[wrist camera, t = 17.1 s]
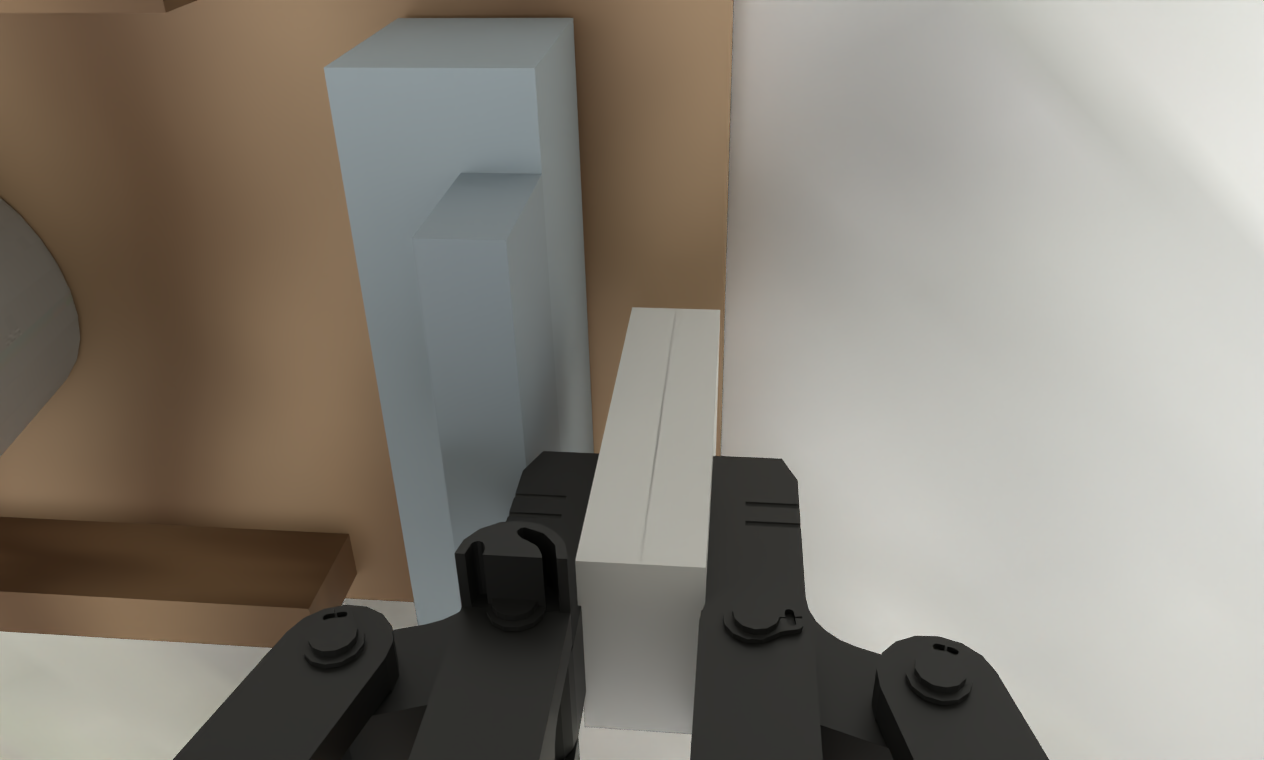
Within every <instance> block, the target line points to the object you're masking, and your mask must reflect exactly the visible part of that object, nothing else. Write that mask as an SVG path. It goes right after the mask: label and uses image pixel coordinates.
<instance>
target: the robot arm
mask: <svg viewBox="0 0 1264 760" xmlns="http://www.w3.org/2000/svg"><path fill="white" fill-rule="evenodd" d="M719 334H720V310H710V309H676V308H641V307H632V311H631V315H630V320H629V324H628V328H627V333H626V337H625V342H624V346H623V351H622V355H621V360H620V364H619V368H618V373H617V377H616V382H615V386H614V391H613V395H612V400H611V404H610V408H609V413H608V417H607V422H606V426H605V431H604V435H603V440H602V444H601V448H600V453H579V452H555V451H543V452H542V453H541V454H540V455H539V456H538V457H536V458H535V459H534V460H533V461H532V462H531V463H530V464H529V465H528V466H527V467H526V468H525V469H524V470H523V472H522V475H521V478H520V481H519V484H518V487H517V490H516V493H515V498H514V499H513V502H512V505H511V508H510V511H509V517H507V520H506V522H499V523H496V524H493V525H490V526H487V527H484V528H481V529H479V530H477V531H476V532H474V533H473V534H471V535H470V536H468V537H467V538H465V539H464V540H463V541H462V543H461V544H460V546H459V547H458V549H457V550H456V552H455V553H454V554H455V562H456V569H457V577H458V584H459V592H460V599H461V610H460V612H458V613H456V614H454V615H452V616H450V617H448V618H445V619H443V620H440V621H436V622H432V623H429V624H425V625H419V626H414V627H408V628H403V629H398V630H392V626H391V624H390V623H389V622H388V621H387V619H386V618H385V617H384V615H383V614H381V613H379V612H377V611H375V610H372V609H370V608H368V607H364V606H353V605H343V606H337V607H331V608H326V609H323V610H320V611H318V612H316V613H314V614H311V615H309V616H307V617H305V618H303V619H302V620H300V621H299V622H298V623H297V624H296V625H294V626H293V627H292V628H291V629H289V630H288V631H287V632H286V633H285V634H284V635H283V637H282V638H281V639H280V640H279V641H278V642H277V643H276V644H275V645H274V647H273V648H272V649H271V650H270V651H269V652H268V653H267V654H266V656H265V657H264V658H263V659H262V660H261V661H260V662H259V663H258V665H257V666H256V667H255V668H254V669H253V670H252V671H251V672H250V674H249V675H248V676H247V677H246V678H245V679H244V680H243V681H242V682H241V684H240V685H239V686H238V687H237V688H236V689H235V690H234V691H233V693H232V694H231V695H230V696H229V697H228V698H227V699H226V700H225V702H224V703H223V704H222V705H221V706H220V707H219V708H218V709H217V711H216V712H215V713H214V714H213V715H212V716H211V717H210V718H209V720H208V721H207V722H206V723H205V724H204V725H203V726H202V727H201V728H200V730H199V731H198V732H197V733H196V734H195V735H194V736H193V737H192V739H191V740H190V741H189V742H188V743H187V744H186V745H185V746H184V748H183V749H182V750H181V751H180V752H179V753H178V754H177V755H176V757H175V758H174V759H173V760H580V757H579V741H578V734H579V728H580V723H581V717H582V712H583V706H584V723H585V727H594V728H609V729H624V730H638V731H653V732H668V733H682V734H692V740H691V755H690V760H1049V759H1048V757H1047V756H1046V754H1045V752H1044V751H1043V749H1042V747H1041V746H1040V744H1039V742H1038V741H1037V739H1036V737H1035V736H1034V734H1033V732H1032V731H1031V729H1030V727H1029V726H1028V724H1027V722H1026V721H1025V719H1024V717H1023V716H1022V714H1021V712H1020V711H1019V709H1018V707H1017V706H1016V704H1015V702H1014V701H1013V699H1012V697H1011V696H1010V694H1009V692H1008V691H1007V689H1006V687H1005V686H1004V684H1003V682H1002V681H1001V679H1000V677H999V675H998V674H997V672H996V671H995V670H994V669H993V668H992V666H991V665H990V664H989V663H988V662H987V661H986V660H985V659H984V657H983V656H982V655H980V654H978V653H977V652H975V651H973V650H972V649H970V648H969V647H967V646H965V645H964V644H962V643H959V642H955V641H952V640H949V639H945V638H942V637H938V636H914V637H910V638H907V639H903V640H900V641H896V642H895V643H894V644H892V645H891V646H890V647H889V648H888V649H886V650H885V651H884V652H883V653H882V655H881V654H877V653H874V652H871V651H868V650H865V649H861V648H858V647H855V646H853V645H851V644H848V643H846V642H843V641H841V640H839V639H838V638H836V637H834V636H833V635H831V634H830V633H828V632H827V631H825V630H824V629H823V628H822V627H821V626H820V625H819V624H818V623H817V622H816V621H815V619H814V617H813V616H812V614H811V613H810V611H809V609H808V605H807V601H806V597H805V582H804V568H803V553H802V539H801V528H800V510H799V495H798V481H797V479H796V478H795V476H794V475H793V474H792V472H791V471H790V470H789V468H788V467H787V465H786V464H785V463H784V461H783V460H782V459H774V458H751V457H727V456H716V433H717V400H718V367H719Z"/></svg>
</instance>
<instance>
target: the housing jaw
mask: <svg viewBox="0 0 1264 760" xmlns="http://www.w3.org/2000/svg"><path fill="white" fill-rule="evenodd" d="M324 73H325V79H326V85H327V90H328V96H329V102H330V108H331V114H332V120H333V126H334V132H335V138H336V143H337V149H338V155H339V161H340V167H341V173H342V179H343V185H344V191H345V197H346V202H347V208H348V214H349V220H350V226H351V232H352V238H353V244H354V250H355V255H356V261H357V267H358V273H359V279H360V285H361V291H362V297H363V303H364V309H365V314H366V320H367V326H368V332H369V338H370V344H371V350H372V356H373V362H374V368H375V373H376V379H377V385H378V391H379V397H380V403H381V409H382V415H383V421H384V426H385V432H386V438H387V444H388V450H389V456H390V462H391V468H392V474H393V480H394V485H395V491H396V497H397V503H398V509H399V515H400V521H401V527H402V533H403V539H404V544H405V550H406V556H407V562H408V568H409V574H410V580H411V586H412V592H413V597H414V603H415V609H416V615H417V621H418V626H419V625H425V624H429V623H432V622H436V621H440V620H443V619H445V618H448V617H450V616H452V615H454V614H456V613H458V612H460V610H461V599H460V592H459V584H458V577H457V569H456V562H455V554H454V553H455V552H456V550H457V549H458V547H459V546H460V544H461V543H462V541H463V540H464V539H465V538H467V537H468V536H470V535H471V534H473V533H474V532H476V531H477V530H479V529H481V528H484V527H487V526H490V525H493V524H496V523H499V522H506V520H507V517H509V511H510V508H511V505H512V502H513V499H514V498H515V493H516V490H517V487H518V484H519V481H520V478H521V475H522V472H523V470H524V469H525V468H526V467H527V466H528V465H529V464H530V463H531V462H532V461H533V460H534V459H535V458H536V457H538V456H539V455H540V454H541V453H542V452H543V451H555V452H579V453H594V445H593V424H592V403H591V382H590V361H589V340H588V319H587V298H586V277H585V256H584V235H583V214H582V193H581V172H580V151H579V130H578V109H577V88H576V67H575V45H574V24H573V18H398V19H396V20H394V21H393V22H391V23H390V24H388V25H387V26H385V27H384V28H382V29H381V30H379V31H378V32H376V33H375V34H373V35H372V36H370V37H369V38H367V39H366V40H364V41H363V42H361V43H360V44H358V45H357V46H355V47H354V48H352V49H351V50H349V51H348V52H346V53H345V54H343V55H342V56H340V57H339V58H337V59H336V60H334V61H333V62H331V63H330V64H328V65H327V66H325V67H324Z"/></svg>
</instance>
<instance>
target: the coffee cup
mask: <svg viewBox="0 0 1264 760" xmlns="http://www.w3.org/2000/svg"><path fill="white" fill-rule="evenodd" d="M79 343H80V331H79V321H78V314H77V311H76V308H75V304H74V301H73V298H72V295H71V291H70V289H69V287H68V285H67V283H66V281H65V278H64V276H63V274H62V272H61V270H60V268H59V266H58V264H57V262H56V261H55V259H54V258H53V256H52V255H51V253H50V252H49V250H48V249H47V247H46V246H45V244H44V243H43V241H42V240H41V238H40V237H39V236H38V235H37V234H36V233H35V232H34V230H33V229H32V228H31V227H30V226H29V225H28V223H27V222H26V221H25V220H24V219H23V218H22V217H21V215H20V214H19V213H17V212H16V211H15V210H14V209H13V208H12V207H11V206H9V205H8V204H7V203H6V202H5V201H4V200H3V199H2V198H0V457H1V455H2V454H3V453H4V452H5V451H6V450H7V448H8V447H9V446H10V445H11V444H12V443H13V441H14V440H15V439H16V438H17V437H18V436H19V434H20V433H21V432H22V431H23V430H24V429H25V427H26V426H27V425H28V424H29V423H30V422H31V420H32V419H33V418H34V417H35V416H36V415H37V413H38V412H39V411H40V410H41V409H42V408H43V406H44V405H45V404H46V403H47V402H48V401H49V399H50V398H51V397H52V396H53V395H54V394H55V392H56V391H57V390H58V389H59V388H60V387H61V385H62V384H63V383H64V382H65V381H66V379H67V378H68V376H69V374H70V372H71V370H72V368H73V366H74V364H75V362H76V361H77V356H78V350H79Z"/></svg>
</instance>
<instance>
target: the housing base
mask: <svg viewBox="0 0 1264 760" xmlns="http://www.w3.org/2000/svg"><path fill="white" fill-rule="evenodd" d="M398 18H573V24H574V45H575V67H576V88H577V109H578V130H579V151H580V172H581V193H582V214H583V235H584V256H585V277H586V298H587V319H588V340H589V361H590V382H591V403H592V424H593V445H594V453H600V448H601V444H602V440H603V435H604V431H605V426H606V422H607V417H608V413H609V408H610V404H611V400H612V395H613V391H614V386H615V382H616V377H617V373H618V368H619V364H620V360H621V355H622V351H623V346H624V342H625V337H626V333H627V328H628V324H629V320H630V315H631V311H632V307H641V308H676V309H710V310H720V334H719V367H718V400H717V433H716V456H721V425H722V389H723V354H724V318H725V282H726V247H727V211H728V176H729V140H730V104H731V69H732V33H733V0H0V198H2V199H3V200H4V201H5V202H6V203H7V204H8V205H9V206H11V207H12V208H13V209H14V210H15V211H16V212H17V213H19V214H20V215H21V217H22V218H23V219H24V220H25V221H26V222H27V223H28V225H29V226H30V227H31V228H32V229H33V230H34V232H35V233H36V234H37V235H38V236H39V237H40V238H41V240H42V241H43V243H44V244H45V246H46V247H47V249H48V250H49V252H50V253H51V255H52V256H53V258H54V259H55V261H56V262H57V264H58V266H59V268H60V270H61V272H62V274H63V276H64V278H65V281H66V283H67V285H68V287H69V289H70V291H71V295H72V298H73V301H74V304H75V308H76V311H77V314H78V321H79V331H80V343H79V350H78V356H77V361H76V362H75V364H74V366H73V368H72V370H71V372H70V374H69V376H68V378H67V379H66V381H65V382H64V383H63V384H62V385H61V387H60V388H59V389H58V390H57V391H56V392H55V394H54V395H53V396H52V397H51V398H50V399H49V401H48V402H47V403H46V404H45V405H44V406H43V408H42V409H41V410H40V411H39V412H38V413H37V415H36V416H35V417H34V418H33V419H32V420H31V422H30V423H29V424H28V425H27V426H26V427H25V429H24V430H23V431H22V432H21V433H20V434H19V436H18V437H17V438H16V439H15V440H14V441H13V443H12V444H11V445H10V446H9V447H8V448H7V450H6V451H5V452H4V453H3V454H2V455H1V457H0V631H5V632H21V633H38V634H54V635H71V636H87V637H104V638H120V639H136V640H153V641H169V642H186V643H202V644H219V645H235V646H251V647H268V648H273V647H274V645H275V644H276V643H277V642H278V641H279V640H280V639H281V638H282V637H283V635H284V634H285V633H286V632H287V631H288V630H289V629H291V628H292V627H293V626H294V625H296V624H297V623H298V622H299V621H300V620H302V619H303V618H305V617H307V616H309V615H311V614H314V613H316V612H318V611H320V610H323V609H326V608H331V607H337V606H341V605H342V603H343V601H344V599H345V598H350V599H368V600H386V601H404V602H414V597H413V592H412V586H411V580H410V574H409V568H408V562H407V556H406V550H405V544H404V539H403V533H402V527H401V521H400V515H399V509H398V503H397V497H396V491H395V485H394V480H393V474H392V468H391V462H390V456H389V450H388V444H387V438H386V432H385V426H384V421H383V415H382V409H381V403H380V397H379V391H378V385H377V379H376V373H375V368H374V362H373V356H372V350H371V344H370V338H369V332H368V326H367V320H366V314H365V309H364V303H363V297H362V291H361V285H360V279H359V273H358V267H357V261H356V255H355V250H354V244H353V238H352V232H351V226H350V220H349V214H348V208H347V202H346V197H345V191H344V185H343V179H342V173H341V167H340V161H339V155H338V149H337V143H336V138H335V132H334V126H333V120H332V114H331V108H330V102H329V96H328V90H327V85H326V79H325V73H324V67H325V66H327V65H328V64H330V63H331V62H333V61H334V60H336V59H337V58H339V57H340V56H342V55H343V54H345V53H346V52H348V51H349V50H351V49H352V48H354V47H355V46H357V45H358V44H360V43H361V42H363V41H364V40H366V39H367V38H369V37H370V36H372V35H373V34H375V33H376V32H378V31H379V30H381V29H382V28H384V27H385V26H387V25H388V24H390V23H391V22H393V21H394V20H396V19H398Z"/></svg>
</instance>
